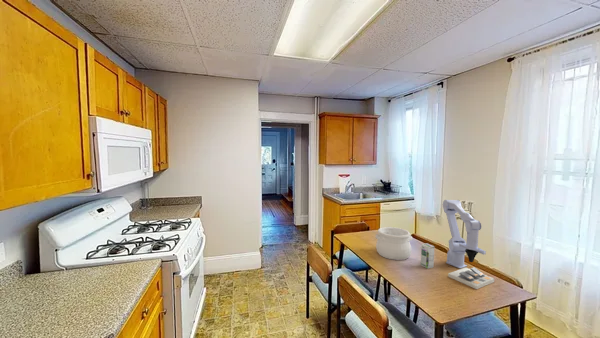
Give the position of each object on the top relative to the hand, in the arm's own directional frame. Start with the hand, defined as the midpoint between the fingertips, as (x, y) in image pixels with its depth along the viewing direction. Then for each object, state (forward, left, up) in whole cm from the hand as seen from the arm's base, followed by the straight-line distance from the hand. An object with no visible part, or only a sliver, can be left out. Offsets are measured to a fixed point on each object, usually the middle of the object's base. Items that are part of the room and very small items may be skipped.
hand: (471, 261), depth 154 cm
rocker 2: (+4, -5, -5) cm, 8 cm away
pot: (-44, -18, -9) cm, 48 cm away
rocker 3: (+4, 0, -5) cm, 6 cm away
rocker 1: (+4, -11, -5) cm, 12 cm away
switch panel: (+3, -5, -9) cm, 10 cm away
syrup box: (-20, -13, -9) cm, 25 cm away
